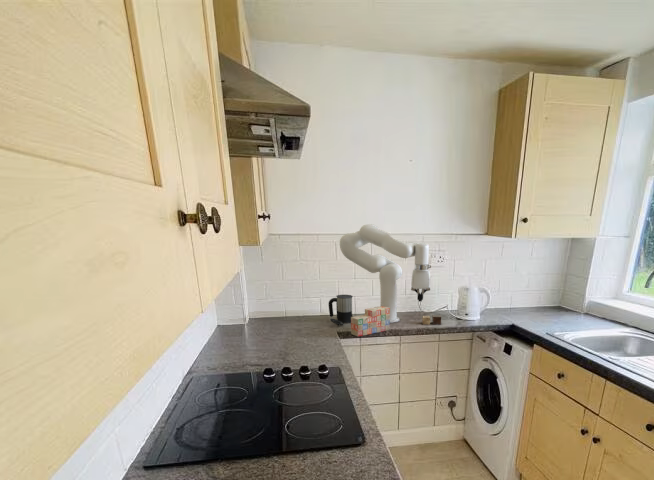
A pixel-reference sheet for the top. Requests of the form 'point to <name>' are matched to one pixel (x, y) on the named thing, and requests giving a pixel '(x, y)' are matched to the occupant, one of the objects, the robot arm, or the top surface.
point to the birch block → (426, 320)
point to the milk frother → (341, 309)
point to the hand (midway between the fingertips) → (420, 301)
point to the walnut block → (436, 319)
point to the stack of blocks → (371, 321)
